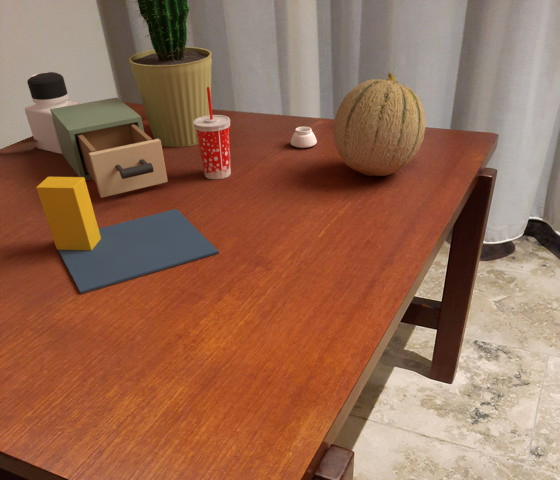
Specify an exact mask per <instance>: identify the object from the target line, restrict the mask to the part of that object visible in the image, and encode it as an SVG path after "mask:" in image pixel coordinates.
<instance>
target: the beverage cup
mask: <svg viewBox="0 0 560 480" xmlns="http://www.w3.org/2000/svg"><path fill="white" fill-rule="evenodd" d="M207 96H208V104H209V113H210V115H208V116H203V117H199V118H197V119H195V120H194V121H193V123H194V128H195V129H196V132H197V137H198V142H199V144H198V146H199V152H200V157H201V163H202V168H203V174H204V177H205V178H207V179H208V180H209V179H210V180H223V179H226V178H229V177H230V176H231V174H232V172H231V171H232V169H231V168H232V167H231V139H230V126H231V119H230V117H229V116H227V115H222V114H214V113H213V107H212V95H211V96H210V87H207Z"/></svg>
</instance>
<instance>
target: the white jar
mask: <svg viewBox="0 0 560 480" xmlns="http://www.w3.org/2000/svg"><path fill="white" fill-rule="evenodd" d="M289 142H290V143H289V144H290V145H291V146H292V147H295V148H299V149H307V148H311V147H314V146H315V145H317V143H318V140H317V137H316V136H315V133H314V132H313V130H312V128H311V127H310V126H298V127H296V128H295V129H294V132H293V134H292V136H291V139H290V141H289Z"/></svg>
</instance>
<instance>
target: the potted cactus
mask: <svg viewBox="0 0 560 480" xmlns="http://www.w3.org/2000/svg"><path fill="white" fill-rule="evenodd" d="M133 3H134V4H135V6H138V10H135V13H136V14H135V16H136V15H137V16H136V18H138V17H139V19H141V18H143V20H142V23H145V25H144V26H143V25H142V26H143V27H146V28H147V29H148V33H147V35H145V36H144V38H147V39H150V43H151V45H152V49H148V50H143V51H139V52H137V53H135V54H132V55H131V56H129V58H128V62H129V64H130V68H131V71H132V74H133V77H134V81H135V84H136V87H137V90H138V93H139V96H140V99H141V102H142V105H143V108H144V111H145V114H146V117H147V122H148V124H149V127H150V130H151V133H152V136H153V140H154V139H159V140H160V141H161V145H162V147H167V148H186V147H193V146H196V145H199V142H198V137H197V132H196V129H195V128H194V123H193V121H194V120H195V119H197V118H199V117H203V116H208V115H210V113H209V104H208V96H207V87H210V96H211V97H212V68H213V67H212V66H213V63H212V62H213V61H212V55H213V52H212V51H211V50H209V49H206V48H201V47H195V46H194V47H193V46H187V45H188V43H187V42H189V43H191V41H189V40H188V34H191V32H190V31H188V28H187V26H188V25H187V22H188V24H191V22H190V21H189V20H191V19H192V18H191V17H192V16H190V14H189V11H191V7H193V6H189V5H188V0H136V1H133ZM138 11H139V13H137V12H138Z"/></svg>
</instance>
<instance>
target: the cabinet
mask: <svg viewBox="0 0 560 480" xmlns="http://www.w3.org/2000/svg"><path fill="white" fill-rule="evenodd" d="M50 111H51V114H52V118H53V121H54V125H55V128H56V132H57V135H58V138H59V142H60V145H61V149H62V152H63V154H62V156H63V158H64V159H65V161H66V162H67V163H68V164H69V166H70V167H71V169H73V171H74V172H75V174H76V175H77V177H84V178H85V181H90V180H93V179H92V177H91V176H90V175H89V174H88V172H87V171H86V170H85V169H84V164H83V161H82V158H81V154H80V150H79V147H78V143H77V139H76V136H75V134H79V133H84V132H89V131H94V130H99V129H105V128H110V127H115V126H120V125H125V124H130V123H134V124H135V125H136V126H137V127H138V128H140V129H141V130H142V131H143V132H144V133H145V129H144V124H143V119H142V116H141V115H140V114H139V113H137V112H136V111H135V110H133V109H132V108H131V107H130V106H128V105H127V104H126V103H125V102H123V101H122V100H121V99H120V98H118V97H112V98H111V97H110V98H105V99H100V100H95V101H89V102H88V101H87V102H84V103H83V102H82V103H81V104H77V105H71V106H65V107H60V108H54V109H50Z"/></svg>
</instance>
